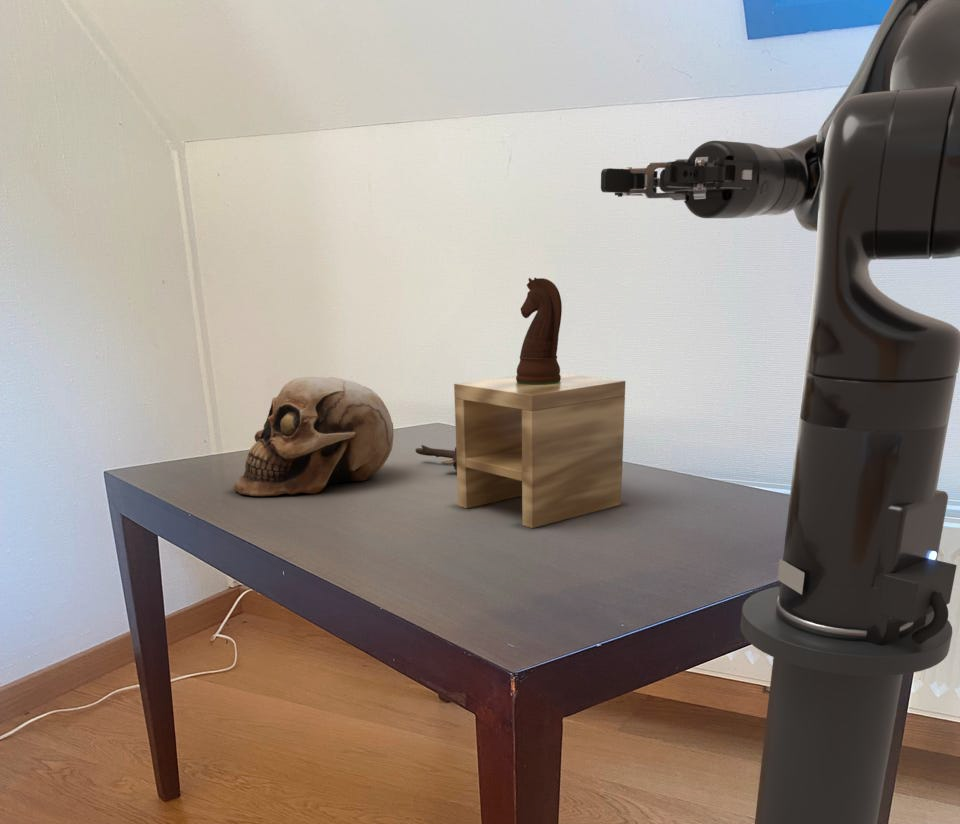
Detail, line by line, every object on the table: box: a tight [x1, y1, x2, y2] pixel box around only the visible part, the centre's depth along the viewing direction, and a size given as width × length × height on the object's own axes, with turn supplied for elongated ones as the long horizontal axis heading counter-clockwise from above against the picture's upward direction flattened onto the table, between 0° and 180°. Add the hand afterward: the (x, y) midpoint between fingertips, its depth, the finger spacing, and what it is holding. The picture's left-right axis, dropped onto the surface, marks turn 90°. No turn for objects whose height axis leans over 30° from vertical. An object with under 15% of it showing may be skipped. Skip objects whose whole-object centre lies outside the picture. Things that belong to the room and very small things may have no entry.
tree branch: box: [415, 444, 457, 472], centre depth 118 cm, size 18×4×14 cm
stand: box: [453, 372, 626, 529], centre depth 97 cm, size 12×13×13 cm
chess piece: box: [515, 277, 563, 385], centre depth 92 cm, size 5×5×10 cm
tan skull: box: [233, 376, 394, 497], centre depth 110 cm, size 16×17×13 cm
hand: (634, 177), depth 92 cm, fingers open, 8 cm apart
